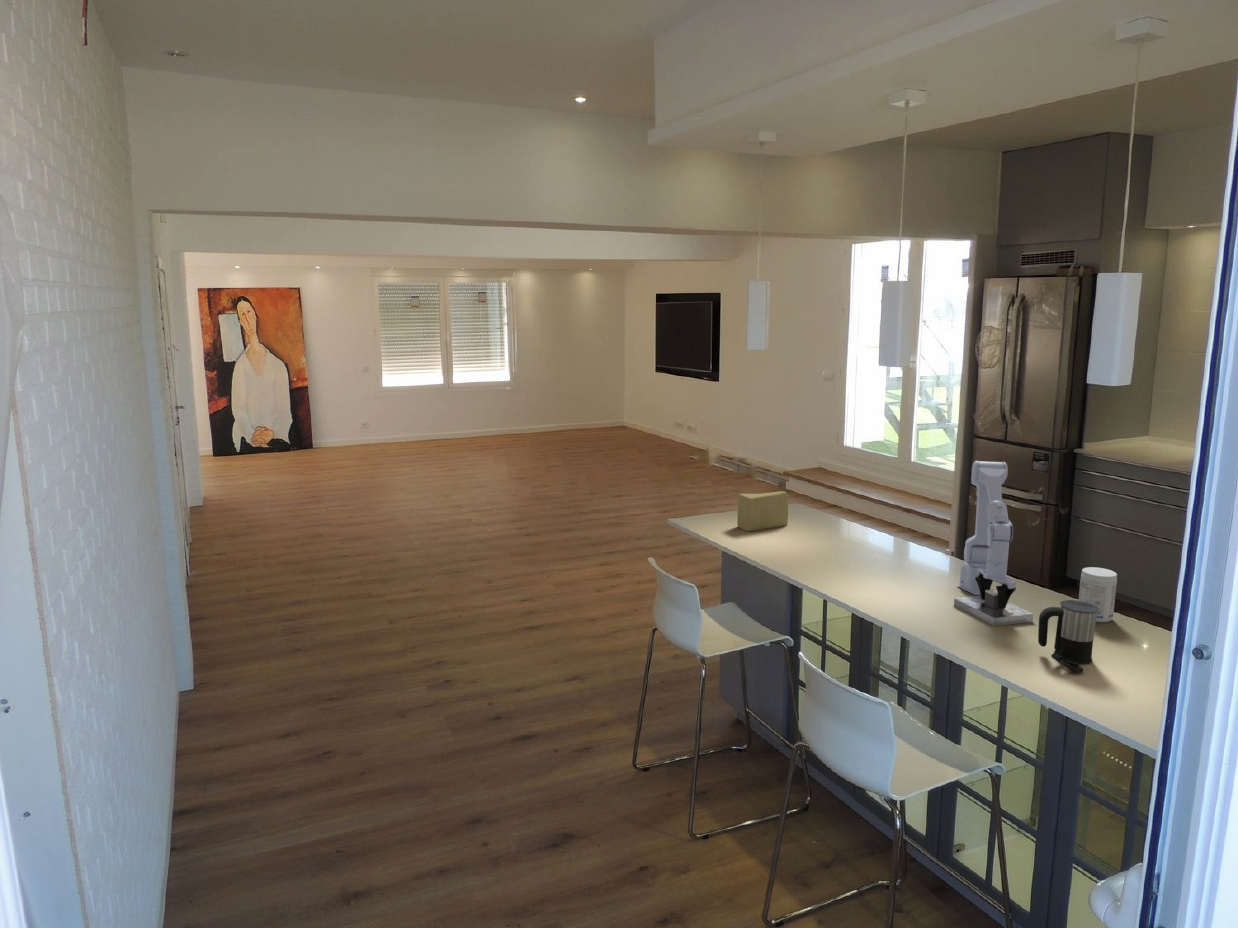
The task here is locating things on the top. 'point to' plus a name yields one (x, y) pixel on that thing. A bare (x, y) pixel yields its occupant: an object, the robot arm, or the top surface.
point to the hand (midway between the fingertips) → (993, 603)
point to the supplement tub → (1099, 591)
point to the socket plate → (993, 611)
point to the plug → (991, 599)
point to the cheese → (762, 510)
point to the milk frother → (1070, 632)
